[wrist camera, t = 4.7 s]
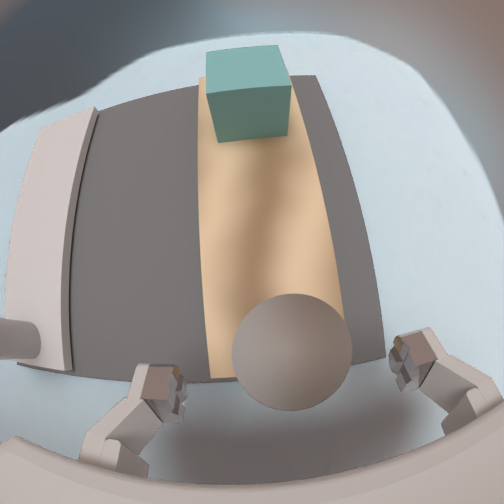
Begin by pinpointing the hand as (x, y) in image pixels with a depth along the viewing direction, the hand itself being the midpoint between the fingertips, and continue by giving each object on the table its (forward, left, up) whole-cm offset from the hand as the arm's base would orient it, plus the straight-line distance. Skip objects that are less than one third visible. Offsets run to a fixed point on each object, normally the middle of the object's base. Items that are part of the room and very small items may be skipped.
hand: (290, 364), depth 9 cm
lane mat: (-8, +11, -8) cm, 16 cm away
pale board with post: (-19, +11, -7) cm, 23 cm away
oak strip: (0, +11, -7) cm, 13 cm away
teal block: (0, +17, -6) cm, 18 cm away
